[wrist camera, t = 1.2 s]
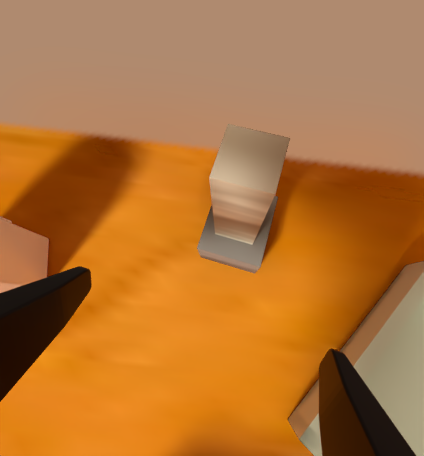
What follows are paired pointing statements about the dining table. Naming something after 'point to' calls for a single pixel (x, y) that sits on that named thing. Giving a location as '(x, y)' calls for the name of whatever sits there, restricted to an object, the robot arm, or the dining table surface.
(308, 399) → the tray
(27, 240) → the jar
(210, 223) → the square pillar on base
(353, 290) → the dining table surface
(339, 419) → the robot arm
